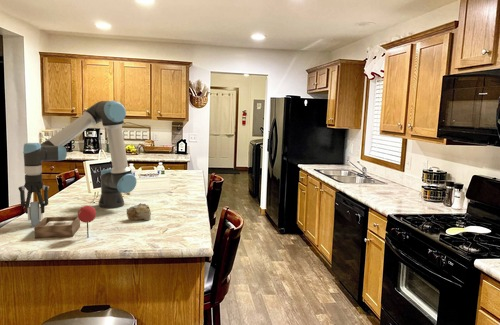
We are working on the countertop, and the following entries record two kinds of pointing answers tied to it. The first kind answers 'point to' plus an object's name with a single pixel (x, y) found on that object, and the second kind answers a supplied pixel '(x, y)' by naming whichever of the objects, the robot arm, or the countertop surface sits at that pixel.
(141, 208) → the rock
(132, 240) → the countertop surface
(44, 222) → the box
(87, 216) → the lollipop
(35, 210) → the peg
